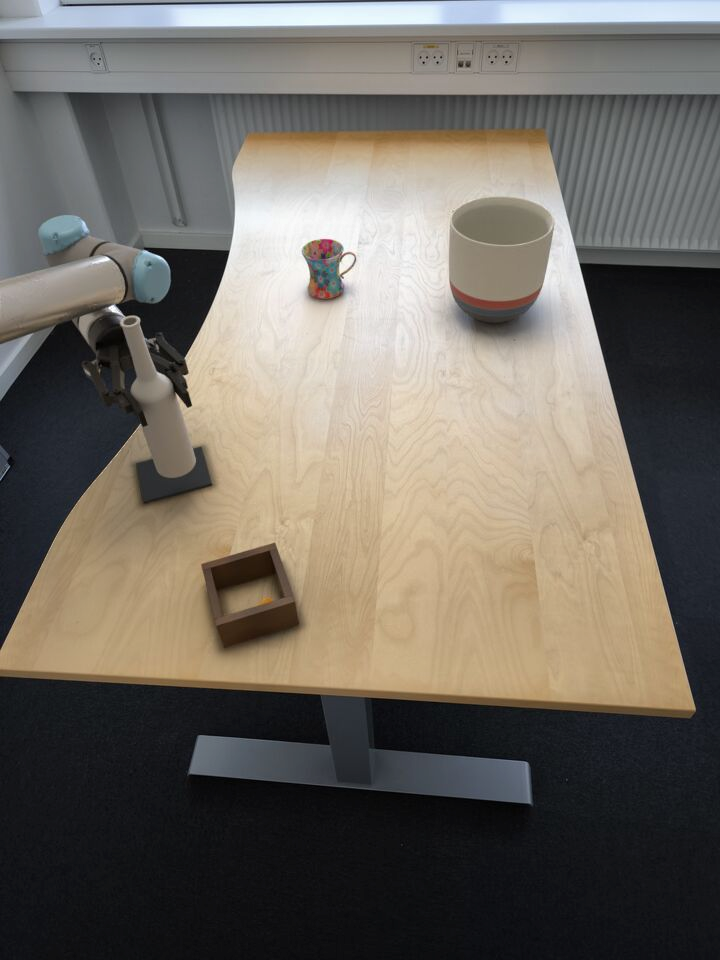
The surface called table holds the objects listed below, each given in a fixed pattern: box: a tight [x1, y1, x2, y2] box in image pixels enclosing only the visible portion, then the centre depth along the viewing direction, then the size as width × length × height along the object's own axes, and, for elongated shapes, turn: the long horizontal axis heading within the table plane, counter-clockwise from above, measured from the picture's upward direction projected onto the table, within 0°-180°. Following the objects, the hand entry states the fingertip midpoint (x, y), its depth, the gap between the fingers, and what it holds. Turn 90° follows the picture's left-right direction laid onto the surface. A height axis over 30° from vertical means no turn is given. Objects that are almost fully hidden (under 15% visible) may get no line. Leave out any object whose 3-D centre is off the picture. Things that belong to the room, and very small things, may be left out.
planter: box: [448, 195, 556, 324], centre depth 152 cm, size 20×20×21 cm
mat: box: [135, 446, 213, 504], centre depth 130 cm, size 12×10×1 cm
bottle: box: [120, 315, 196, 478], centre depth 111 cm, size 7×7×28 cm
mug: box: [301, 238, 357, 300], centre depth 165 cm, size 12×9×11 cm
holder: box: [200, 542, 300, 649], centre depth 108 cm, size 11×11×6 cm
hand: (165, 409), depth 107 cm, fingers closed on bottle, 6 cm apart
